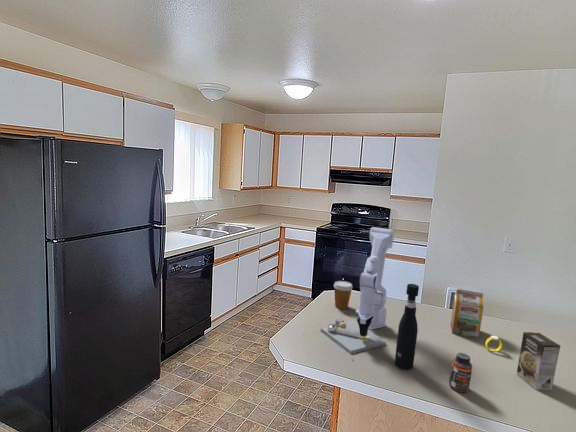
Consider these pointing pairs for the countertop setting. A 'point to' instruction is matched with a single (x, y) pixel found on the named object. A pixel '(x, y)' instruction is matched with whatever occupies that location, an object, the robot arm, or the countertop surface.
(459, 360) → the supplement bottle
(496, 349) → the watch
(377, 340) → the base
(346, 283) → the disposable coffee cup
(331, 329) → the lever
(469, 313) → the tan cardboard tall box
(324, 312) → the countertop surface
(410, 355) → the black water bottle
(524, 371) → the brown food box
